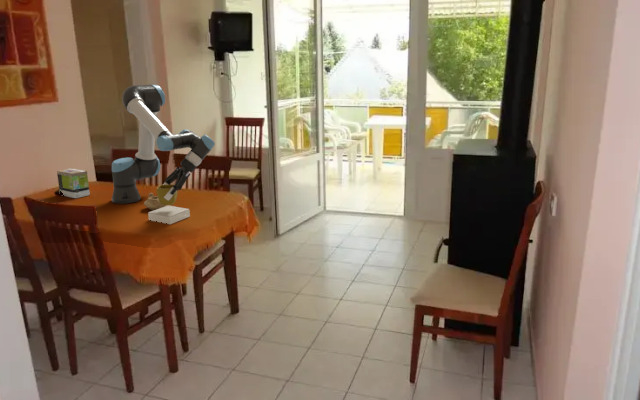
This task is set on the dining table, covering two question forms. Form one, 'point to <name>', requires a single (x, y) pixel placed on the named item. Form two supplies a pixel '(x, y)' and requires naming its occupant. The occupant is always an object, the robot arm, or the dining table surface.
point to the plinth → (169, 214)
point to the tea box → (73, 183)
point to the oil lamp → (153, 202)
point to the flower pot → (161, 193)
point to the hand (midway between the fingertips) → (162, 196)
